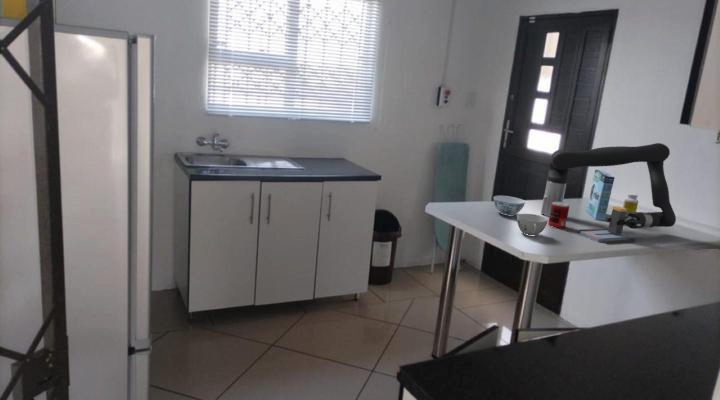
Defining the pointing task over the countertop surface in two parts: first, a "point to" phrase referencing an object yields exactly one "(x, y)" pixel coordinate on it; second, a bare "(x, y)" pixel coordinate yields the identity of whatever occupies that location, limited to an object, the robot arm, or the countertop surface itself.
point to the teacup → (531, 223)
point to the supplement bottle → (630, 203)
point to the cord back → (592, 230)
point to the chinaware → (508, 204)
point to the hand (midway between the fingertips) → (612, 221)
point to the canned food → (558, 214)
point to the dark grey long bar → (619, 240)
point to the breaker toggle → (617, 214)
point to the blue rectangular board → (603, 235)
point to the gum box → (600, 195)
